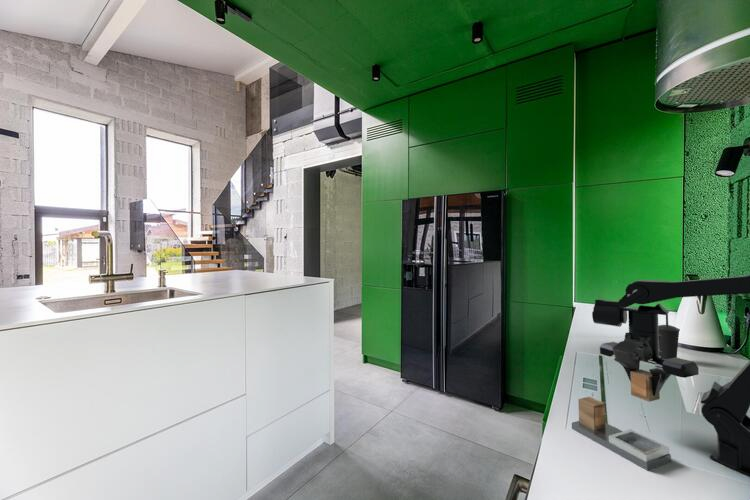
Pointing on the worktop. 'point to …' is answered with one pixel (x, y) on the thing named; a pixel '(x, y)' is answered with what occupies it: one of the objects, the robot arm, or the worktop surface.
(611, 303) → the robot arm
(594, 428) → the brown wooden block
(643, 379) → the tan wooden block
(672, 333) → the drinking cup
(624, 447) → the grey base plate
